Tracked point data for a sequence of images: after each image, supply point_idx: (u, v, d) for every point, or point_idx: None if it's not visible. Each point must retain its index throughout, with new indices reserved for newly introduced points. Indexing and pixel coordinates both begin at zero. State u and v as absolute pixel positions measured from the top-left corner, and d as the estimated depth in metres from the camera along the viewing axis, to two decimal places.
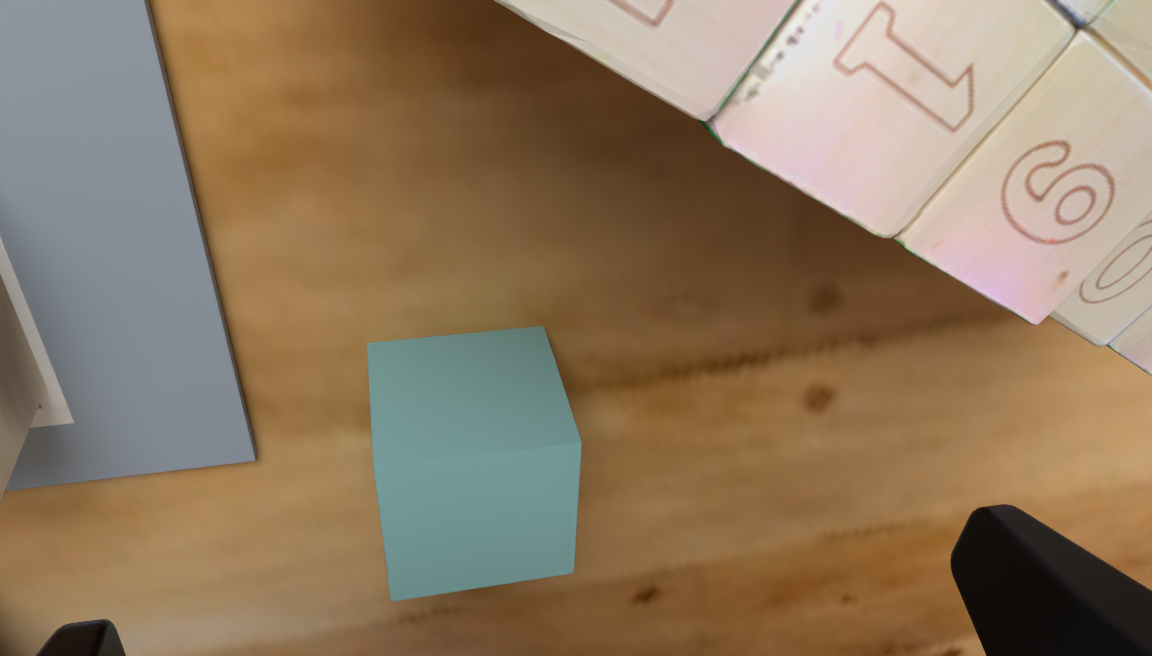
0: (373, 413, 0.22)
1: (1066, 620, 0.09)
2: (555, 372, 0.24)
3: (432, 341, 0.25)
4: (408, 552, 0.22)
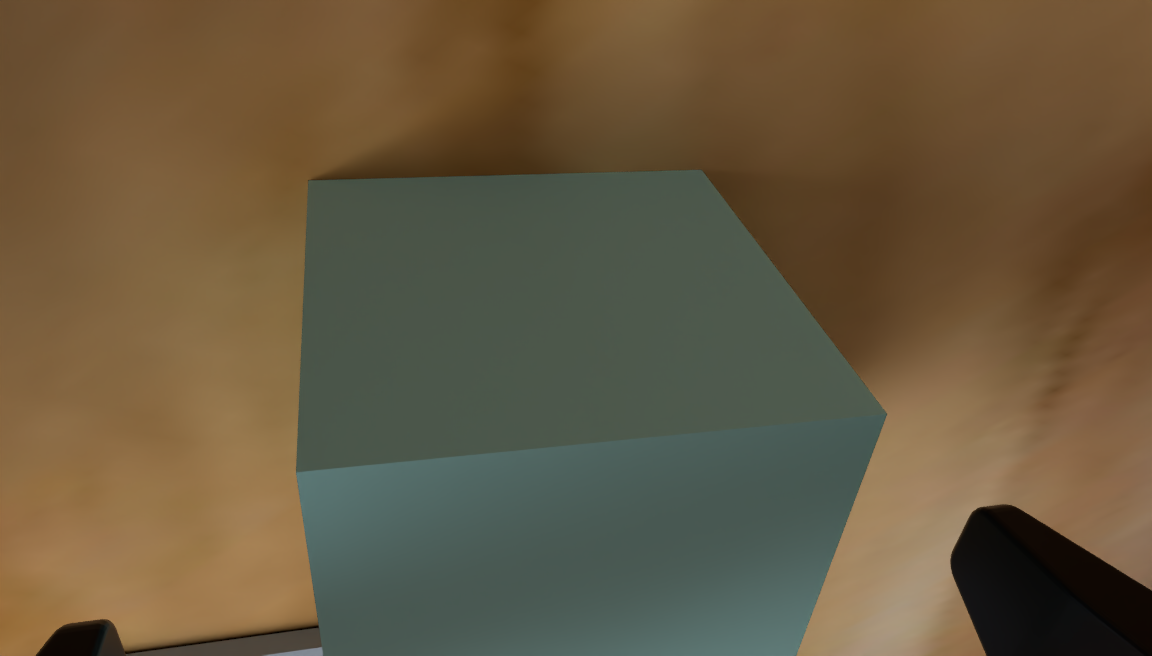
0: None
1: (1066, 620, 0.09)
2: (304, 284, 0.09)
3: None
4: None
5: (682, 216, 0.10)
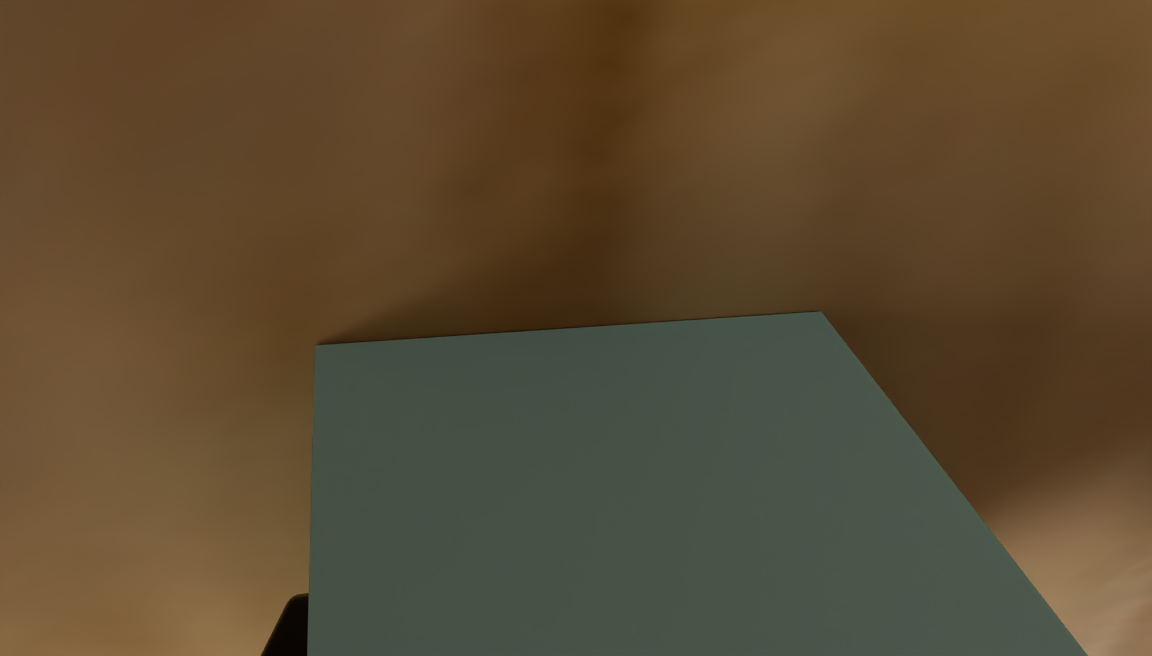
0: None
1: None
2: (311, 545, 0.06)
3: None
4: None
5: (816, 399, 0.08)
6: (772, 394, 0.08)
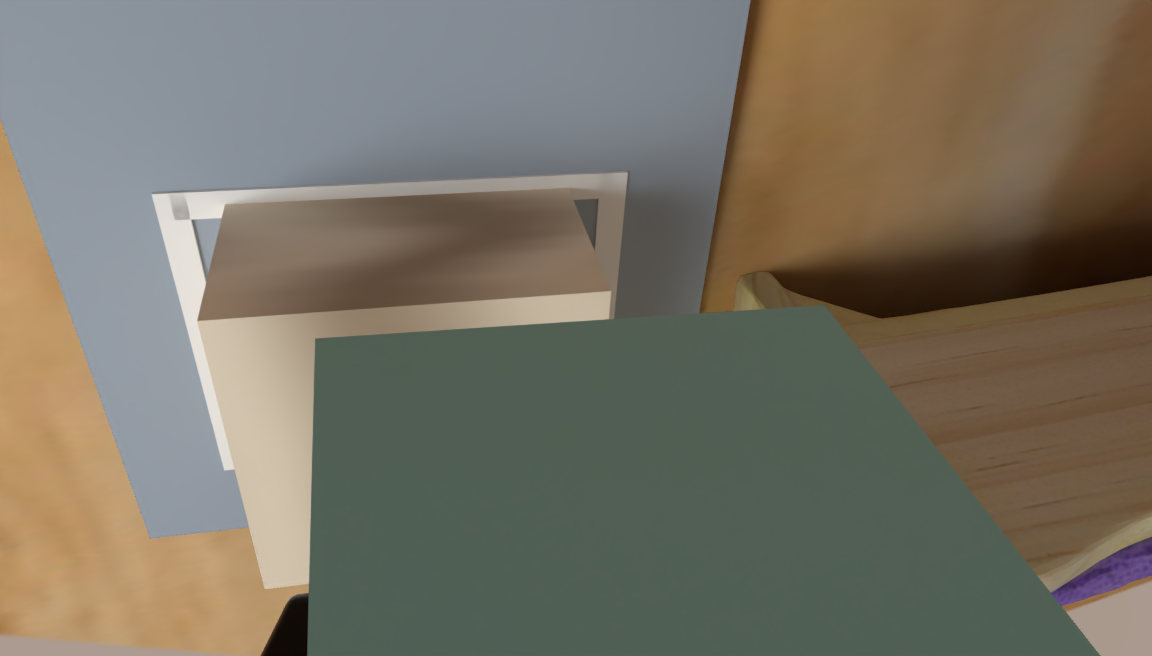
0: None
1: None
2: (311, 537, 0.06)
3: None
4: None
5: (820, 393, 0.08)
6: (776, 387, 0.08)
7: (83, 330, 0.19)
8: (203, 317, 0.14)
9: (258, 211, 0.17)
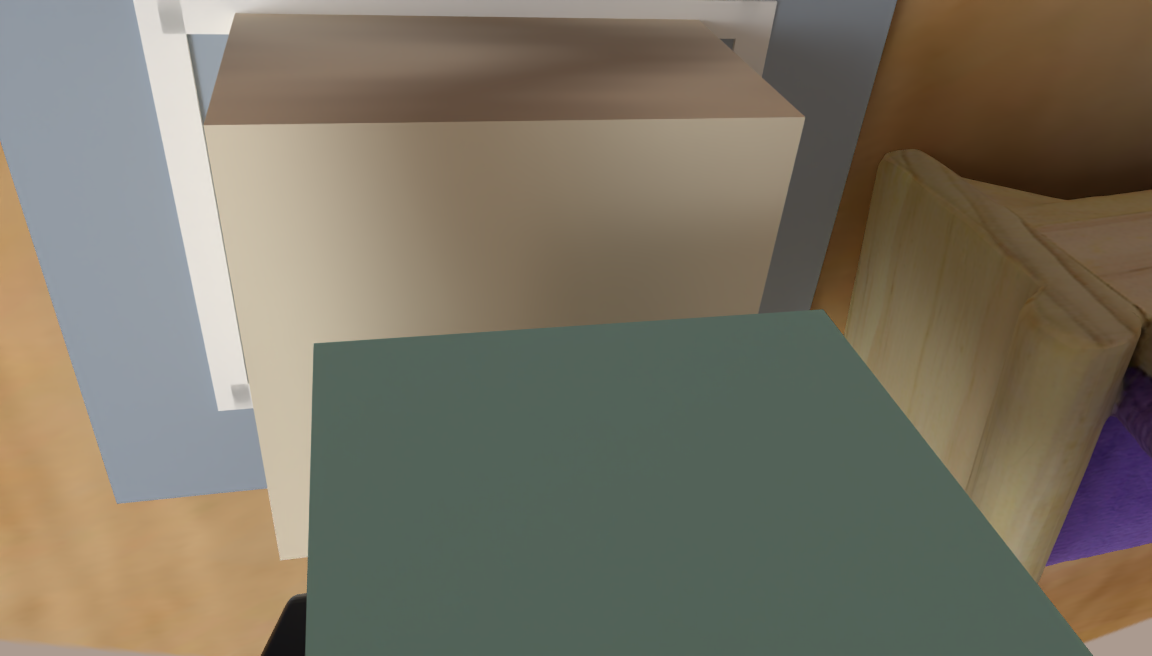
0: None
1: None
2: (308, 544, 0.06)
3: None
4: None
5: (818, 398, 0.08)
6: (774, 392, 0.08)
7: (29, 199, 0.13)
8: (213, 121, 0.09)
9: (283, 21, 0.12)
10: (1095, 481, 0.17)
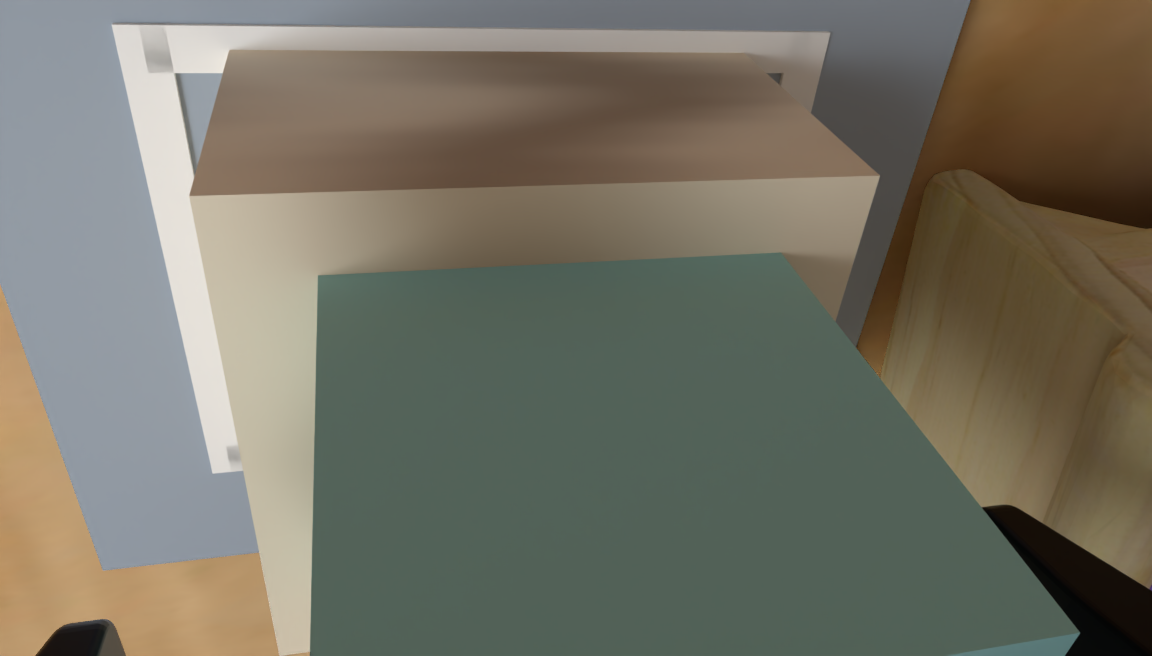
0: None
1: None
2: (315, 434, 0.07)
3: None
4: None
5: (771, 324, 0.09)
6: (731, 319, 0.09)
7: (1, 253, 0.12)
8: (200, 190, 0.08)
9: (283, 59, 0.11)
10: None
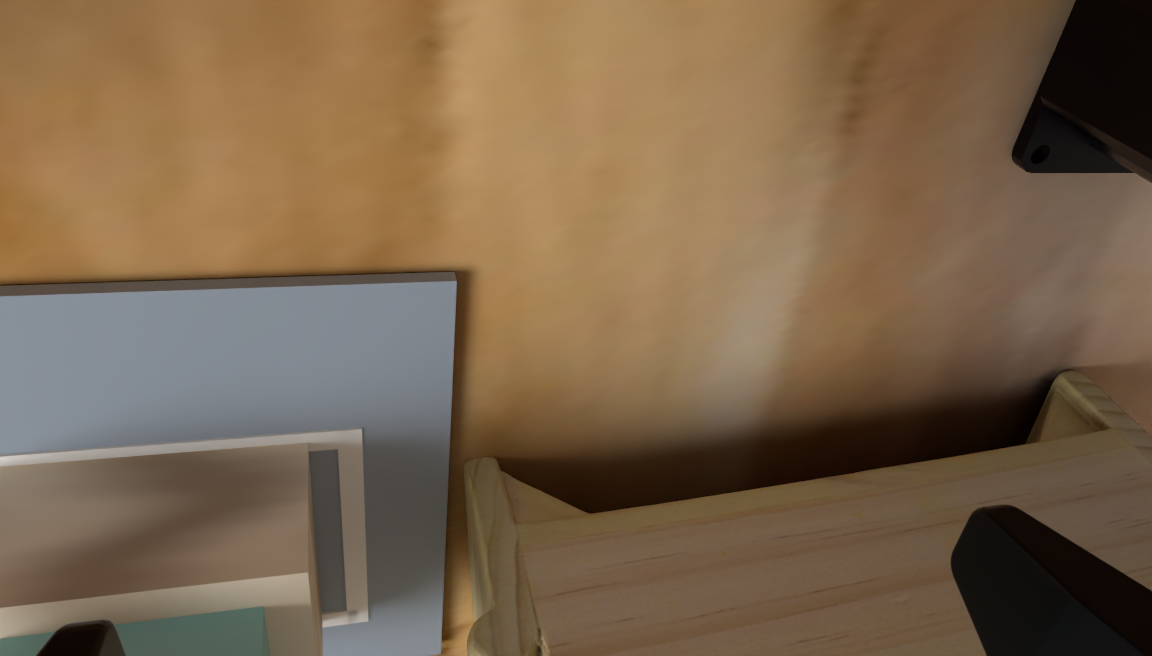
0: None
1: (1066, 620, 0.09)
2: None
3: None
4: None
5: None
6: None
7: None
8: None
9: (11, 476, 0.20)
10: None
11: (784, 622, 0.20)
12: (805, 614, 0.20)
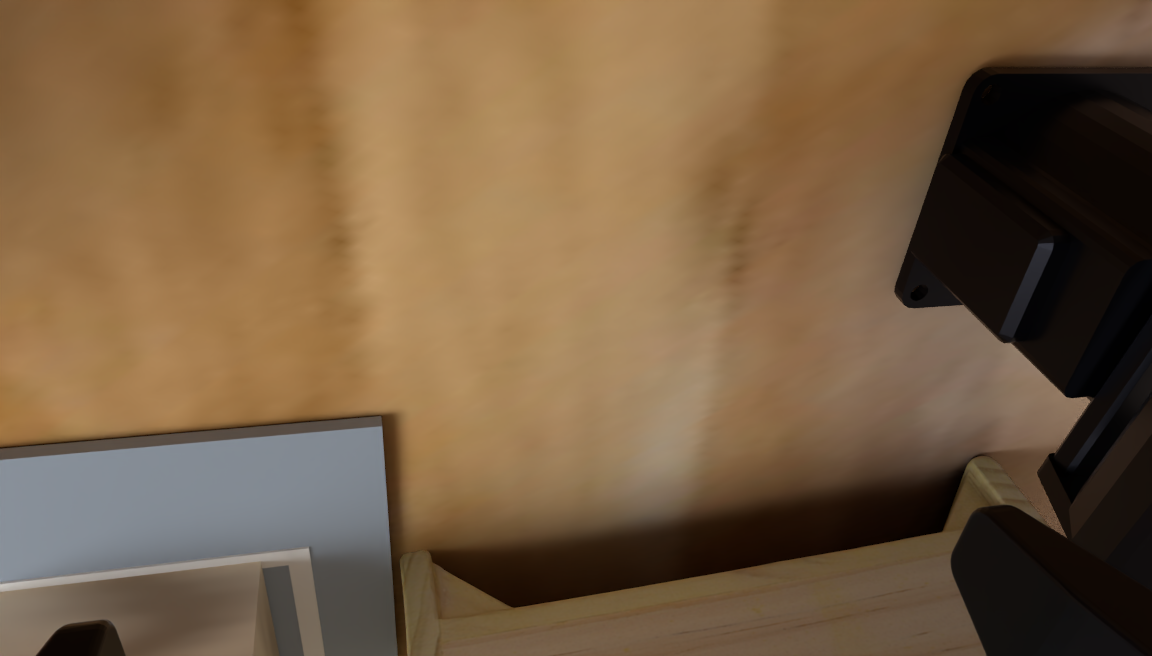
0: None
1: (1066, 620, 0.09)
2: None
3: None
4: None
5: None
6: None
7: None
8: None
9: None
10: None
11: None
12: None
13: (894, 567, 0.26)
